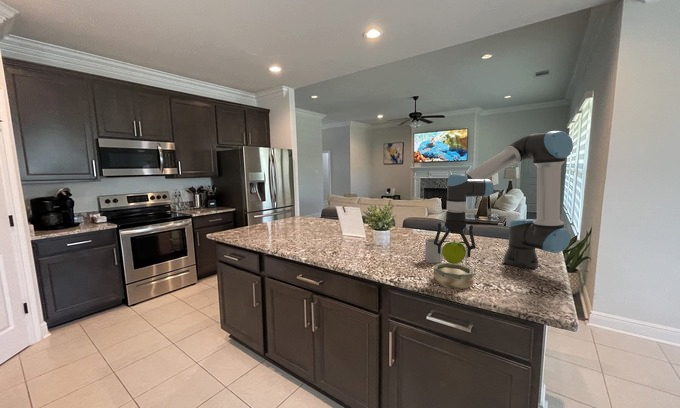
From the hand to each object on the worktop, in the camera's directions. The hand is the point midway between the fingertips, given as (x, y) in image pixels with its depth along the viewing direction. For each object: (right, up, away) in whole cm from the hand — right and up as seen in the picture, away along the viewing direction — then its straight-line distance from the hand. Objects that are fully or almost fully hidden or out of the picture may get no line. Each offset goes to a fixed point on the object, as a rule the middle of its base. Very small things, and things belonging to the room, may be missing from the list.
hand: (453, 262), depth 123 cm
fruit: (0, 0, 0) cm, 0 cm away
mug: (+2, -5, +30) cm, 30 cm away
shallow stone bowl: (0, -8, +1) cm, 8 cm away
